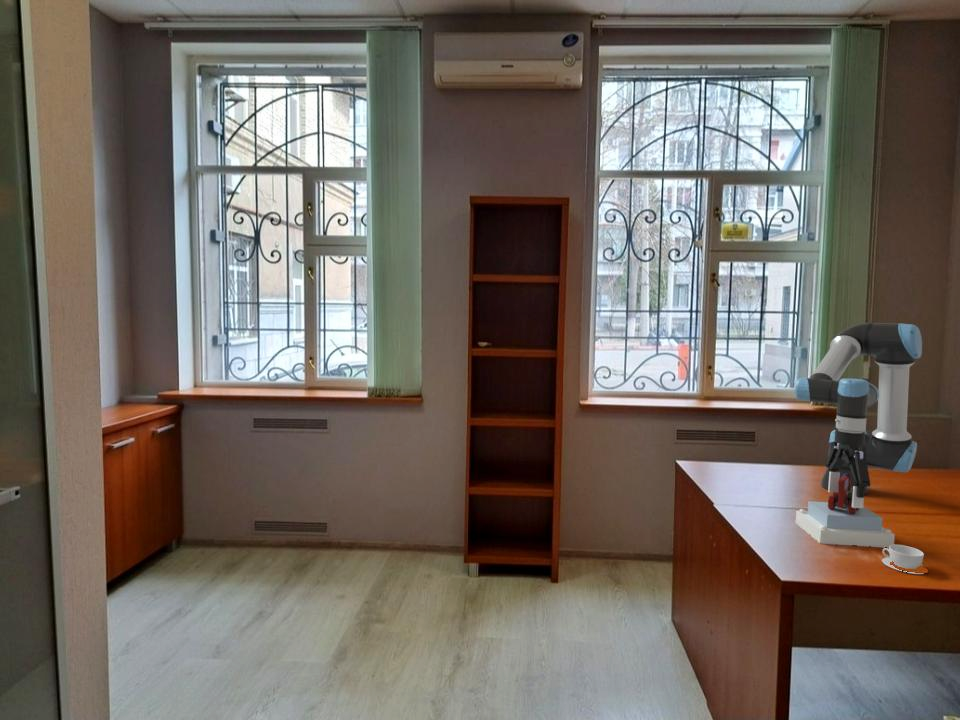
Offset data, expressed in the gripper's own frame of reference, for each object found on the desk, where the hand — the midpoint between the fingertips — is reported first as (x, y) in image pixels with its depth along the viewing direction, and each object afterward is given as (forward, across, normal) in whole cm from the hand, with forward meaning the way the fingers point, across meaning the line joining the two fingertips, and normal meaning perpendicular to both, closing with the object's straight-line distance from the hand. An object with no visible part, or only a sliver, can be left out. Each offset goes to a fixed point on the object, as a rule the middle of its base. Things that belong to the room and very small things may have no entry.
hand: (844, 499), depth 169 cm
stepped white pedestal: (+11, 0, 0) cm, 11 cm away
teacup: (+11, +20, +6) cm, 24 cm away
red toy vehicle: (+3, 0, 0) cm, 3 cm away
